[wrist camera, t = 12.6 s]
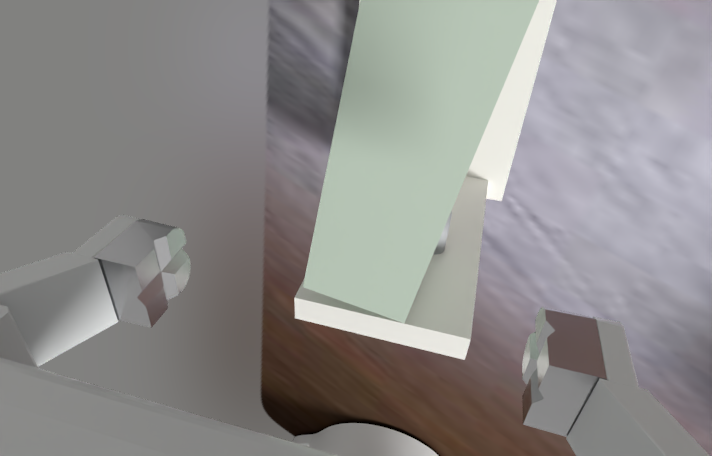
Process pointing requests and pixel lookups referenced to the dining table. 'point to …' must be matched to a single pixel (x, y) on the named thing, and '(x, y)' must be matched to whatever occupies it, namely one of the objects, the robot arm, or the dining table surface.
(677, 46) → the dining table surface
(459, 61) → the shelf board
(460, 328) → the shelf unit
